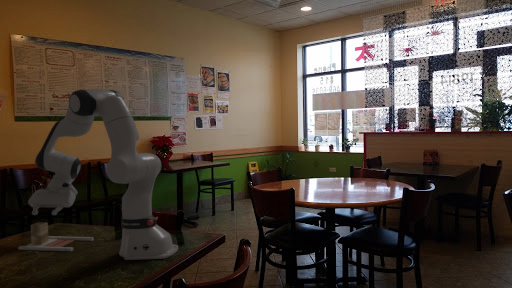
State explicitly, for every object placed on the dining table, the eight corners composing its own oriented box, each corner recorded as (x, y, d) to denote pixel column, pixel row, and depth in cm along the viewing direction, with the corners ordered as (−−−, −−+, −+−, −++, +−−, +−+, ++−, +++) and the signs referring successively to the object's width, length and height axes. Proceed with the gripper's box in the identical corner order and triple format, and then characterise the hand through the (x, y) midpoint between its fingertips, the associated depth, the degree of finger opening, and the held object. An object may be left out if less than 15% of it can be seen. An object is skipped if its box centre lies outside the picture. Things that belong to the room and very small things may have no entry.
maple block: (48, 241, 158) (47, 222, 157) (41, 244, 153) (40, 225, 153) (39, 241, 158) (38, 222, 158) (31, 244, 154) (30, 225, 154)
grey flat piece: (93, 239, 160) (93, 237, 160) (71, 251, 145) (71, 248, 145) (44, 238, 164) (44, 236, 164) (18, 249, 149) (18, 246, 149)
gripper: (34, 184, 167) (18, 210, 157) (74, 184, 164) (60, 210, 154) (41, 192, 171) (26, 218, 162) (81, 192, 168) (68, 218, 159)
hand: (43, 214), depth 158 cm, fingers open, 8 cm apart
